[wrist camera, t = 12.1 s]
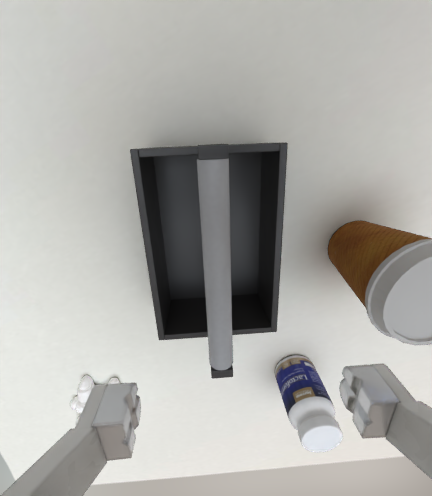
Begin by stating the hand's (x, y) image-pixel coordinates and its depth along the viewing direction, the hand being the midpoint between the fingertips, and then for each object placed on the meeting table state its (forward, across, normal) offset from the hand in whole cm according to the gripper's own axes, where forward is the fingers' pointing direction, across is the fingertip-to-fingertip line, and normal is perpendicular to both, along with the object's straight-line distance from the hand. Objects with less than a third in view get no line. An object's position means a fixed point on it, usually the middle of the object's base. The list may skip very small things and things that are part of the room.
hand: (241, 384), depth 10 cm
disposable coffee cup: (+21, -17, +4) cm, 27 cm away
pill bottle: (+21, -11, +23) cm, 32 cm away
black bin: (+21, 0, +1) cm, 21 cm away
